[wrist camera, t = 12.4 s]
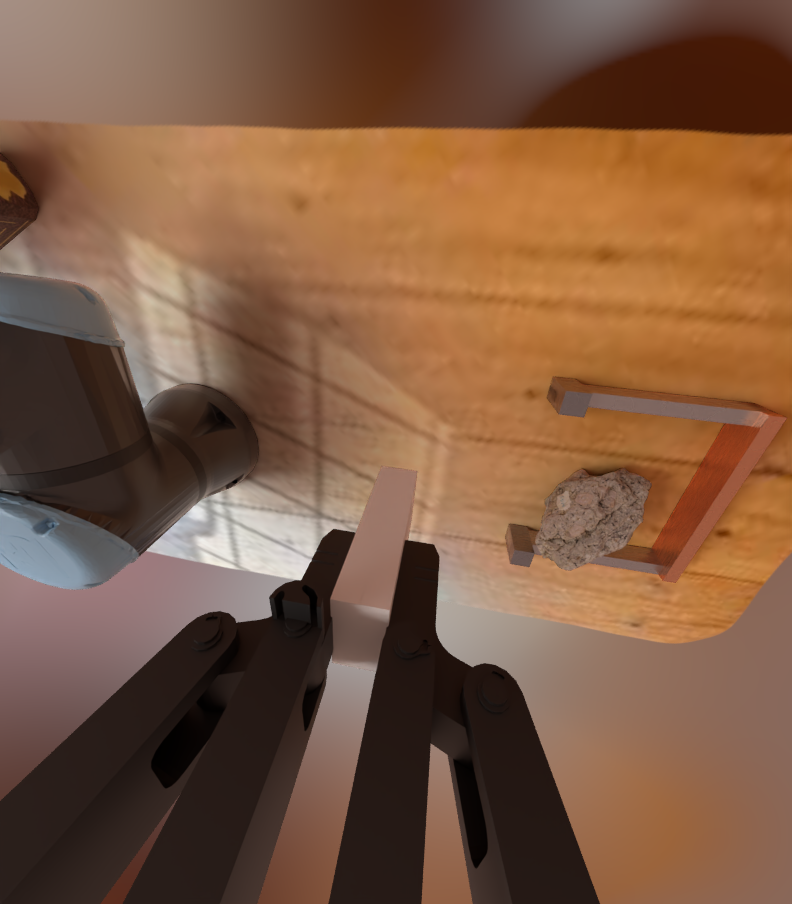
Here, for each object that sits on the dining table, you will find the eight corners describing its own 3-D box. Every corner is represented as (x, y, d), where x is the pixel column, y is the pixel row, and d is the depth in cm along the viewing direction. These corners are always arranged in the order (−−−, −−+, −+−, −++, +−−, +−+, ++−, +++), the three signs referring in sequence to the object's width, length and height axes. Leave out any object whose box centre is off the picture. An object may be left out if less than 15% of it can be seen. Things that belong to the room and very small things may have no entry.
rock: (634, 448, 32) (698, 512, 32) (598, 442, 42) (646, 490, 42) (520, 536, 36) (575, 596, 35) (511, 511, 46) (554, 557, 45)
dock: (505, 537, 47) (510, 563, 43) (553, 376, 36) (566, 390, 32) (657, 561, 45) (678, 592, 41) (756, 398, 34) (800, 417, 30)
